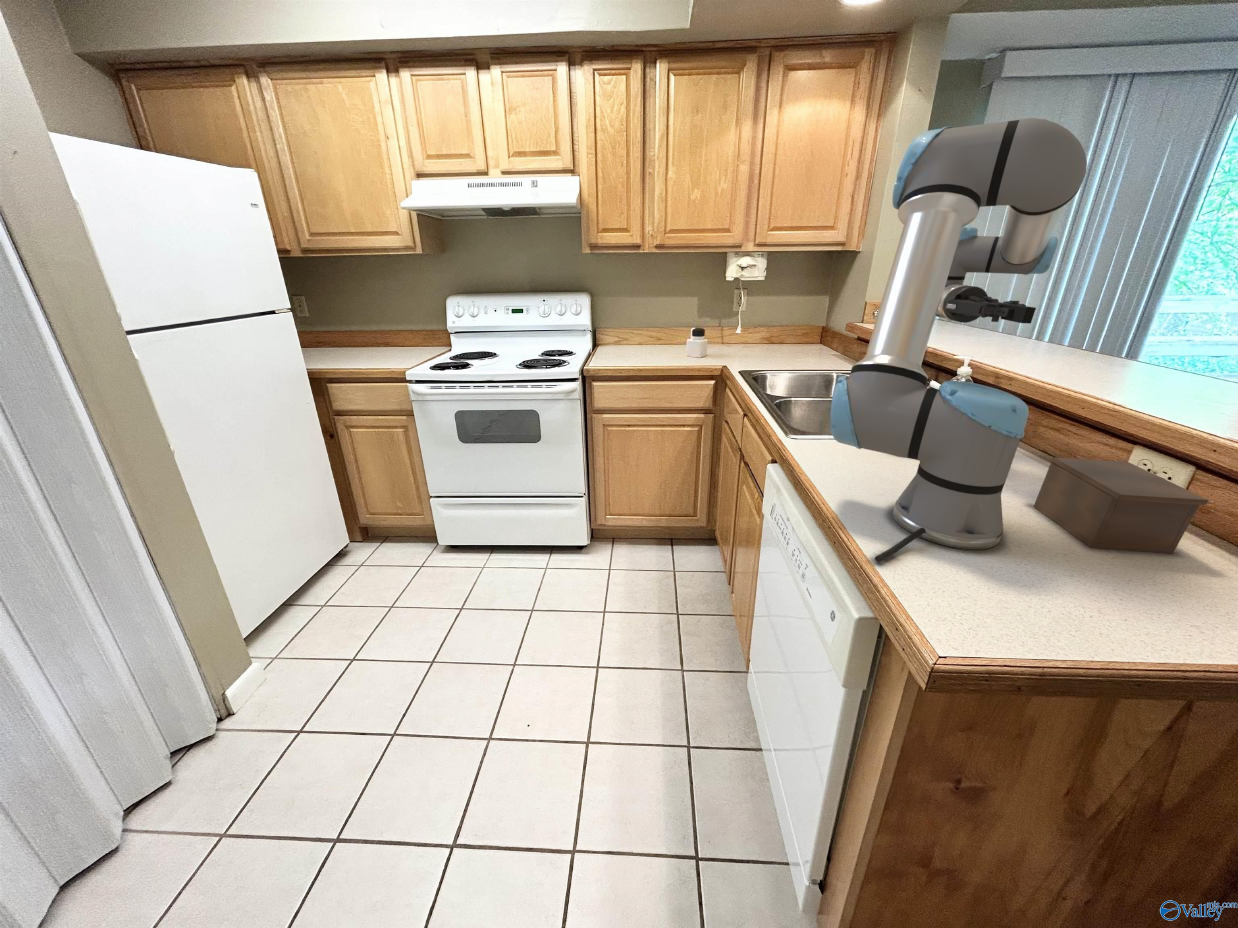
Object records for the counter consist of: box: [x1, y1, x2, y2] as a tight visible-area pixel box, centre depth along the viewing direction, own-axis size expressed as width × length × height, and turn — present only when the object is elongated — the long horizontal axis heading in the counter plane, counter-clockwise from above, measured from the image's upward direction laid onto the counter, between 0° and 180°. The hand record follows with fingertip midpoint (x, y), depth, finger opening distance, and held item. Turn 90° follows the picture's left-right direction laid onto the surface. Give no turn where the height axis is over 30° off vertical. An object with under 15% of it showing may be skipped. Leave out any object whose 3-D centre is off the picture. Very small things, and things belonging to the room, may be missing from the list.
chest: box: [1033, 461, 1200, 554], centre depth 80 cm, size 14×12×9 cm
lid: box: [1051, 456, 1209, 506], centre depth 77 cm, size 14×12×1 cm
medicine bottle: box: [685, 327, 709, 359], centre depth 214 cm, size 7×7×12 cm
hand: (1028, 315), depth 86 cm, fingers closed
